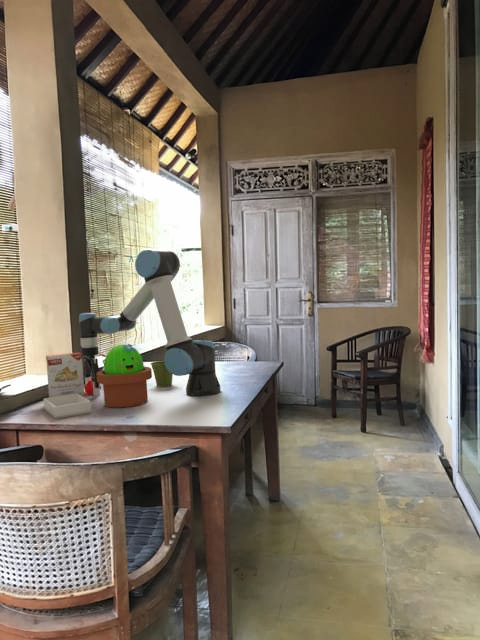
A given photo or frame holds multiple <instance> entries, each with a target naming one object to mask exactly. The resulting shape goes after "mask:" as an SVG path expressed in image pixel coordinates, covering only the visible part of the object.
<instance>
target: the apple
mask: <svg viewBox="0 0 480 640" xmlns="http://www.w3.org/2000/svg"><path fill="white" fill-rule="evenodd" d="M99 384H100V383H99ZM101 389H102V386H101V384H100V390H101ZM84 393H86V394H87V395H89V396H90V395H94V391H93V382H92V381H89V382H88V383H87V384H86V383H85V384H84Z"/></svg>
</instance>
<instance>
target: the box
mask: <svg viewBox="0 0 480 640" xmlns="http://www.w3.org/2000/svg"><path fill="white" fill-rule="evenodd" d="M84 397H85V396H84ZM84 397H82V396H81V395H79V394H77V393H75V394H69V395H63V396H56V397H50V398H49V397H45V398H43V407H44V408H43V410H44V411H46V413H48V414H49V415H50V416H51V417H52V418H53V419H55V420H58V419H64V418H71V417H75V416H81V415H86V414H92V402H91V400H89V399H87V398H86V397H85V398H84Z"/></svg>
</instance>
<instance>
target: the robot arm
mask: <svg viewBox="0 0 480 640" xmlns="http://www.w3.org/2000/svg"><path fill="white" fill-rule="evenodd" d="M180 266H181V262H180V258H179V256H178V255H177V254H176V253H175V252H174V251H173V250H169V249H157V248H145V249H142V251H140V252H139V253H138V254H137V255H136V259H135V262H134V267H135V271H136V273H137V274H138V276H140V277H142V278H143V279H144V284H143V285H142V286H141V288H140V289H138V291H137V293H136V294H135V295H134V296H133V298H132V299H131V300H130V301H129V302H128V303H127V305H126V306H125V308H124V309H123V310H122V311H121V312H120V313H119V314H118V315H111V316H101V317H100V316H99V317H97V314H96V313H95V312H83V313H80V314H79V315H78V327H79V334H80V335H79V336H80V337H79V338H80V346H81V349H80V351H81V352H80V353H81V354H82V357H83V376H84V381H85V385H86V384H87V383H88V382H89V381H92V382H93V391H94V394H93V396H95V397H97V396H101V389H100V386H101V384H99V383H98V382H97V372H99V371H100V368H99V362H98V358H96V356H98V355H99V347H98V345H99V343H98V341H100V340H99V338H98V335H99V334H103V335H105V334H107V335H111V334H113V335H114V334H116V333H118V332H125V331H126V332H127V331H130V330H133V329H134V328H135V327H136V325H137V319H138V318H140V316H141V315H142V314H143V312H144V311H145V310H146V309H147V308H148V307H149V305H150V304H151V303H152V301H153V300H154V302H155V305H156V309H157V311H158V312H157V313H158V315H159V319H160V322H161V325H162V328H163V331H164V332H163V333H164V335H165V337H166V338H165V339H166V343H165V344H166V345H165V346H164V348H165V354H164V356H163V361H164V364H165V366H166V368H167V370H168V371H169V372H170V373H172V374H173V375H174V376H177V377H182V376H186V375H187V376H188V379H187V383H186V387H185V393H186V395H188V396H193V397H194V396H195V397H198V396H199V397H201V396H203V397H204V396H205V397H206V396H211V395H216V394H219V393H220V392H221V385H220V382H219V378H218V377H217V373H216V359H215V358H216V356H215V355H216V354H215V344H214V343H215V342H213V341H212V340H193V338H192V337H190V336H188V333H187V330H186V327H185V324H184V320H183V317H182V314H181V310H180V307H179V304H178V301H177V297H176V294H175V291H174V288H173V285H172V282H173V280H174V279H175V278H176V276H177V275H178V274H179V271H180V269H181V268H180Z"/></svg>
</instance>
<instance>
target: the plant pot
mask: <svg viewBox="0 0 480 640" xmlns="http://www.w3.org/2000/svg"><path fill="white" fill-rule="evenodd" d="M149 365H151V370H152V372H153V375H154V379H155V384H156V386H157V387H159V388H160V387H161V388H162V387H165V386H166V387H170V386H172V385H173V375H174V374H172V373H170V372H169V371H168V370H167V368H166V366H165V364H164V360H158V361H153V362H150V364H149Z"/></svg>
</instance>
